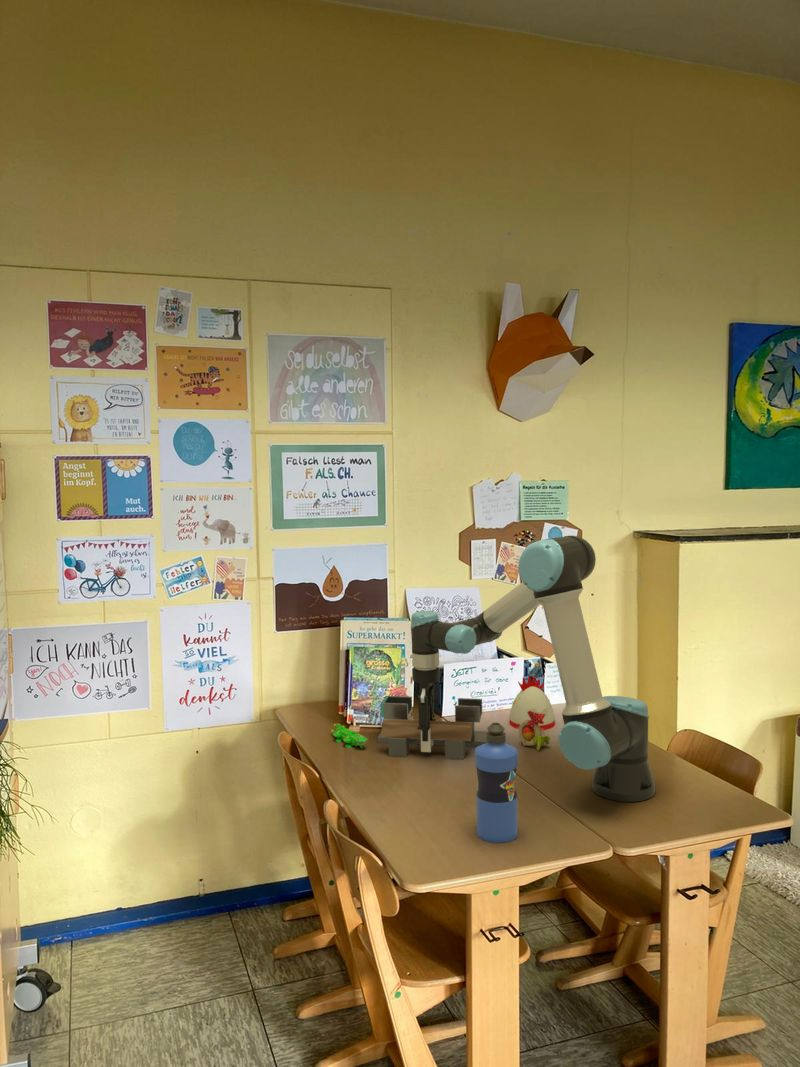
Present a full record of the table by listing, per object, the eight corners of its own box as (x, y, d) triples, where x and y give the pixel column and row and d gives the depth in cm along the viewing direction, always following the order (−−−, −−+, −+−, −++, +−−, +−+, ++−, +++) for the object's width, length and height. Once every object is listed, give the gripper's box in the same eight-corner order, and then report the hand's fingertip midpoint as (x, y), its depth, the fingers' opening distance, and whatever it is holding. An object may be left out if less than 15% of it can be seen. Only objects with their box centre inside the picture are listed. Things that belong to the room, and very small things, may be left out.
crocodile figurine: (355, 753, 236) (354, 739, 236) (324, 736, 251) (324, 722, 250) (375, 748, 240) (374, 734, 239) (343, 732, 255) (343, 718, 254)
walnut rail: (470, 741, 229) (470, 726, 229) (381, 737, 234) (381, 723, 234) (472, 736, 233) (472, 722, 233) (384, 732, 238) (384, 718, 237)
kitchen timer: (503, 718, 264) (503, 672, 262) (545, 715, 266) (544, 669, 265) (517, 732, 250) (517, 684, 248) (561, 729, 252) (561, 680, 251)
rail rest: (463, 759, 229) (463, 742, 229) (388, 756, 233) (388, 738, 233) (465, 751, 235) (465, 734, 234) (392, 748, 239) (392, 731, 238)
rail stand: (486, 747, 238) (486, 707, 237) (377, 742, 244) (376, 704, 243) (489, 736, 247) (488, 698, 246) (383, 732, 253) (383, 695, 252)
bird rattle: (520, 756, 236) (546, 749, 231) (506, 718, 238) (532, 711, 233) (531, 750, 241) (557, 743, 236) (517, 713, 243) (542, 705, 238)
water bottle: (468, 836, 183) (466, 726, 181) (488, 820, 191) (486, 714, 189) (506, 847, 178) (505, 733, 176) (525, 830, 186) (524, 721, 184)
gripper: (417, 659, 241) (419, 737, 243) (406, 674, 224) (408, 759, 226) (443, 659, 239) (444, 738, 241) (434, 675, 223) (436, 760, 225)
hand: (427, 748), depth 234 cm, fingers closed on walnut rail, 4 cm apart
